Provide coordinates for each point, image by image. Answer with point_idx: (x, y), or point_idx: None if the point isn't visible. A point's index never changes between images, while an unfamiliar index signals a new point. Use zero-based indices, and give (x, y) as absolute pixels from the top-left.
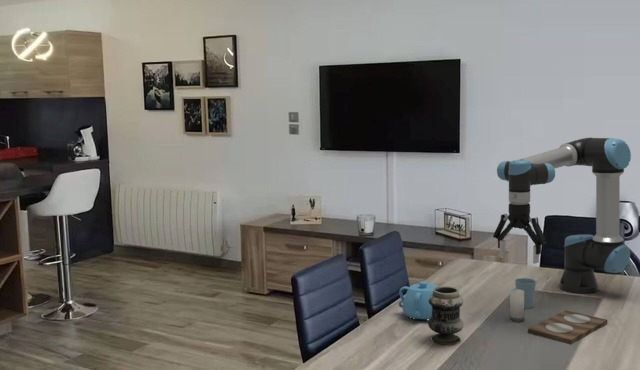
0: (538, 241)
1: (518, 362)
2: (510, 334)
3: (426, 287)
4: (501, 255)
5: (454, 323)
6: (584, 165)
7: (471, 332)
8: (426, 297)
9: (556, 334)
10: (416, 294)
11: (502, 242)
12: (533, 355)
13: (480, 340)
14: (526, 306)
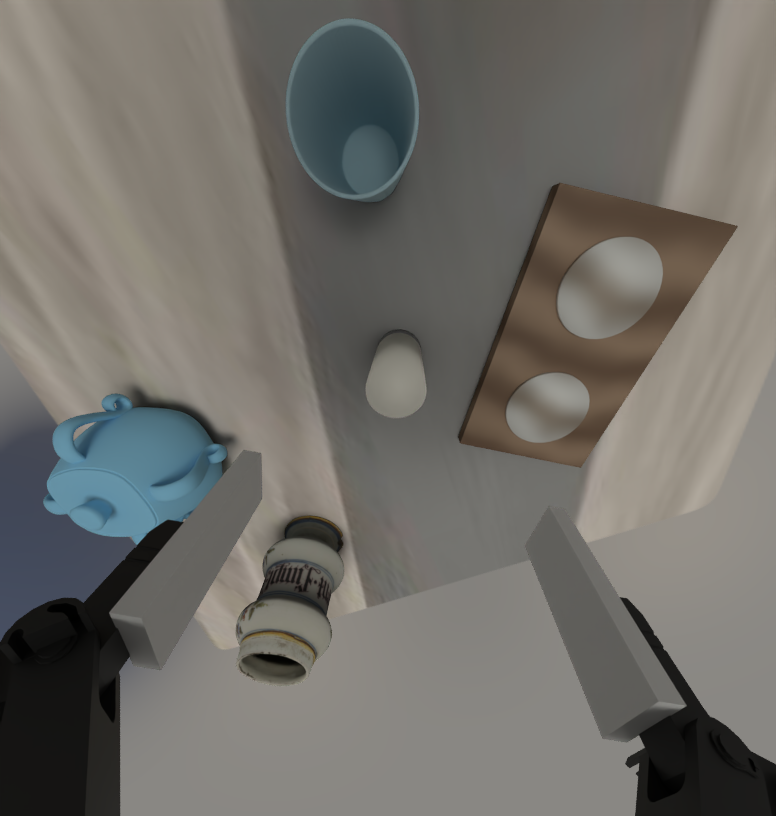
0: (722, 795)
1: (478, 569)
2: (421, 463)
3: (110, 503)
4: (252, 513)
5: (332, 591)
6: None
7: (336, 487)
8: None
9: (540, 449)
10: None
11: (174, 628)
12: (498, 538)
13: (375, 516)
14: (385, 197)
